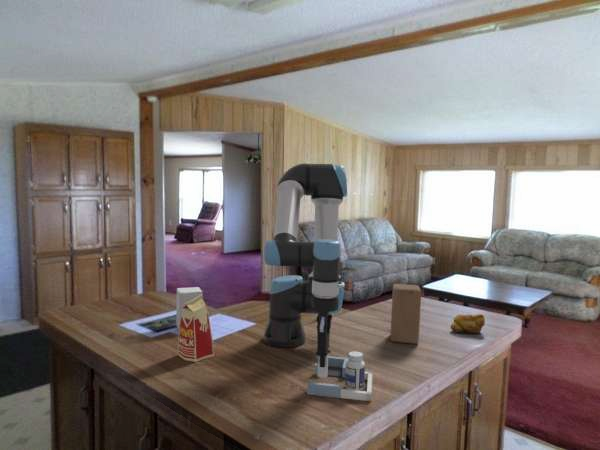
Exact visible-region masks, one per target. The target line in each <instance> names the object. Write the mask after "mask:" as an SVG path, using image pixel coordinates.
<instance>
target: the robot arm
mask: <svg viewBox="0 0 600 450" xmlns="http://www.w3.org/2000/svg"><path fill="white" fill-rule="evenodd" d="M347 181H348V180H347V174H346V169H345V167H344V166H343V165H341V164H336V163H335V164H333V163H306V162H305V163H304V162H303V163H299V164H295V165H293V166H292V167H290V168H288V170H287V171H285V172H284V173H283V175H282V176H281V177H280V179H279V180H278V182H277V188H276V194H277V197H278V199H277V200H278V202H277V208H276V214H275V215H276V217H275V221H274V222H275V223H274V230H273V238H272V239H271V240H266V242H265V243H264V249H263V259H264V264H266V265H267V266H271V267H272V266H274V267H299V268H300V267H301V268H312V271H311V273H310V274H308V280H304V278H303V276H301V275H296V274H293V275H291V274H290V275H282V276H277V277H275V278H274V279H272V280H271V281H270V283H269V291H268V293H269V294H268V295H269V306H268V307H269V308H268V322H267V323H266V327H265V330H264V333H263V343H265V344H267V345H269V346H272V347H275V348H276V347H277V348H294V347H298V346H301V345H303V344H304V343H306V333H305V328H304V326H303V325H304V324H303V322H302V314H317V316H316V323H317V325H316V331H317V332H316V333H317V342H316V343H317V344H316V345H317V348H316V349H317V351H316V352H315V356H317V364H318V375H317V376H316V377H317V378H325V379H326V378H328V377H329V376H328V356H329V354H331V352H332V349H329V348H330V337H331V336H330V335H331V333H330V332H331V329H332V328H331V327H332V320H333V315H338V314H339V313H340V312H341V310H342V306H343V301H344V295H345V287H346V282H344V281H342V277H341V275H340V272H341V271H340V268H341V254H342V253H341V252H342V251H341V243H340V241H339V240H338V238H339V208H340V207H339V206H340V205H341V204H342V203H344V198H346V197H347V196H348V184H347V183H348V182H347ZM304 196H310V197H311V198H310V201H311V202H312V203H313V205H314V224H313V225H314V227H313V229H314V230H313V232H314V233H313V234H314V235H313V241H298V237H299V236H298V234H299V226H300V225H299V224H300V209H301V199H303V197H304Z"/></svg>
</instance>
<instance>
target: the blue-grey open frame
mask: <svg viewBox="0 0 600 450" xmlns="http://www.w3.org/2000/svg"><path fill="white" fill-rule="evenodd" d="M347 360H349V358H348V357H339V356H338V357H337V356H331V355H330V356H329V355H328V366H331V367H341V368H343V371H342V377H341V378H343V379H345V368H346V361H347ZM314 375H315V376H316V375H318V362H317V363H314ZM306 389H307V395H310V396H318V397H319V396H320V397H329V398H330V397H331V398H338V399H342V398H341V389H342V385H341V384H333V383H324V382H315V381H308V382H307V388H306Z"/></svg>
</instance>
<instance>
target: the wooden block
mask: <svg viewBox="0 0 600 450" xmlns="http://www.w3.org/2000/svg"><path fill="white" fill-rule="evenodd" d="M391 297H392V298H391V315H390V316H391V319H390V341H391V342H393V343H403V344H412V345H417V344H419V341H420V339H419V338H420V322H421V321H420V320H421V301H422V291H421V288H420V286H419V285H417V284H404V283H394V284H393V285H392V295H391Z"/></svg>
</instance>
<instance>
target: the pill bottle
mask: <svg viewBox="0 0 600 450" xmlns="http://www.w3.org/2000/svg"><path fill="white" fill-rule="evenodd" d="M347 358H349V360H347V361H346V368H345V378H344V387H345V389H348V390H358V391H364V388H365V380H364V376H365V372H366V363H365V361H364V354H363V352H361V351H355V350H353V351H350V352H348V357H347Z"/></svg>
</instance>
